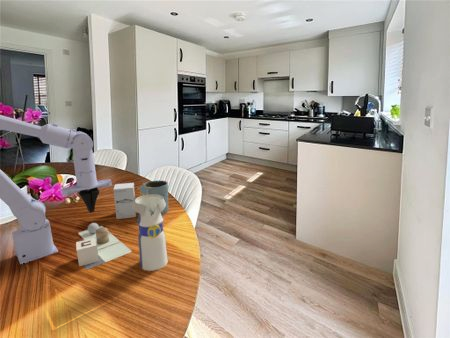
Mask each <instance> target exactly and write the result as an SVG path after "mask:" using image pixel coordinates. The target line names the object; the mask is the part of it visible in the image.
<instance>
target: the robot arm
mask: <svg viewBox="0 0 450 338" xmlns="http://www.w3.org/2000/svg"><path fill="white" fill-rule="evenodd" d="M0 131H8V132H12V133H18V134H20V135H21V134H22V135H26V136H32V137H36V138H39V140H40V141H41V142H42V144H47V145H51V146H56V147H60V148H64V149H72V153H73V154H72V155H73V157H72V162H73V166H74V173H75V181H76V184H74V185H71V186H68V187H64V188H61V189H60V192H61V195H62V197H67V196H69V195H73V194H78V195H79V196H80V198H81V200H82V201H83V202H84V204H85V206H86V209H87V212H88V213H94V212H95V208H96V202H97V199H98V197H99V195H100V188H105V187H106V188H107V187H112V186H113V183H112V180H111V179H110V178H109V179H108V178H107V179H103V180H102V179H101V180H97V179H98V178H97V172H96V163H95V157H94V155H93V153H94V152H93V147H94V142H93V140H92V137H90V136H89V134H87V133H85V132H83V131H82V130H81V131H80V130H79V131H77V129H76V128H72V129H69V128H66V127H62V126H59V124H58V123H55V122H53V123H47V124H44V125H42V126H41V125H36V124H34V123H31V122H28V121H23V120H20V119H16V118H12V117H9V116H5V115H1V114H0ZM0 200H1V201H2V202H4V204H6V205H7V206H8V207H9V210H10V212H11V213H12V215H13V216H14V217H15V218H16V219H17V222H18V226H20V227H19V229H16V230H14V231H11V236H12V240H13V244H14V249H15V250H14V254H15V257H17V259H18V262H19V264H20V265H21V264H22V265H24V264H23V263H25V264H27V263H29V261H30V262H32V261H35V260H39V259H42V258H44V257H47V256H49V255H53V254H56V253H58V252H59V250H58V248H57V247H56V245H55V244H54V241H53V240H54V239H53V235H52V229H51V224H50V220H49V219H47V218H46V211H47V208H46V205H45V203H44V202H42V201H40V200H38V199H35V198H33V197H32V196H31V195H29V194H28V193H25V191H23V190H22V189H21V188H20V187H19V186H18V185H17V184H16V183H15V182H14V181H13V180H12V179H11V178H10V177H8V175H7V174H6V173H5V172H4V171H3V170H1V169H0Z"/></svg>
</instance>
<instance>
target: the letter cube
mask: <svg viewBox="0 0 450 338" xmlns="http://www.w3.org/2000/svg"><path fill="white" fill-rule="evenodd" d="M75 245H76V246H75V248H76V255H77V261H78V267H82V266H83V265H86V264H90V263H94V262H98V261H99V258H98V250H97V245H96V240H95V238H92V239H88V240H84V239H83V240H79V241H76V243H75ZM83 267H84V266H83Z"/></svg>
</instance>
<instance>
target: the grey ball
mask: <svg viewBox="0 0 450 338" xmlns="http://www.w3.org/2000/svg"><path fill="white" fill-rule="evenodd" d="M99 226H100V225H99V224H98V223H97V222H91V223H90V224H88V226H87V230H88V231H89V232H90V233H96V230H97V229H99Z"/></svg>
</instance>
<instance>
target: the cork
mask: <svg viewBox="0 0 450 338" xmlns="http://www.w3.org/2000/svg"><path fill="white" fill-rule="evenodd" d="M108 231H109V228H107V227H104V228H100V229H97V230H96V238H97V244H105V243H107V242H109V235H108V234H109V233H108Z"/></svg>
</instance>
